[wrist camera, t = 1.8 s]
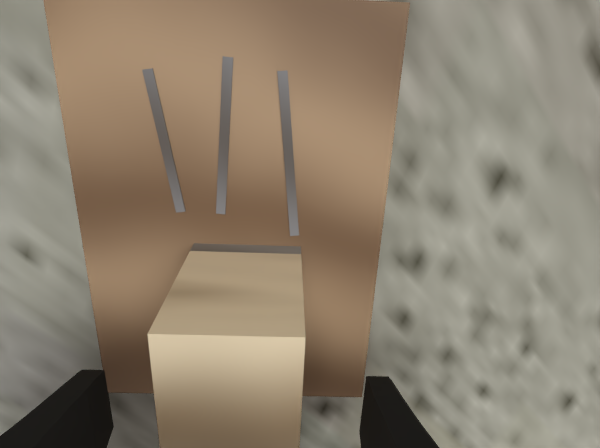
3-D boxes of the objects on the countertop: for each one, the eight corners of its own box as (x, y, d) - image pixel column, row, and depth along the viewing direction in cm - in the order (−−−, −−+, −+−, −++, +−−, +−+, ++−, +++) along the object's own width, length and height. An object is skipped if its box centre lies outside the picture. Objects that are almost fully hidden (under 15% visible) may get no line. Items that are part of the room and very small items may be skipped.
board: (357, 376, 18) (361, 398, 17) (118, 371, 18) (106, 393, 17) (399, 7, 13) (410, 2, 12) (62, -10, 13) (39, -16, 11)
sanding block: (294, 386, 17) (295, 514, 12) (201, 384, 17) (167, 513, 12) (300, 246, 14) (305, 337, 10) (193, 243, 14) (147, 333, 10)
